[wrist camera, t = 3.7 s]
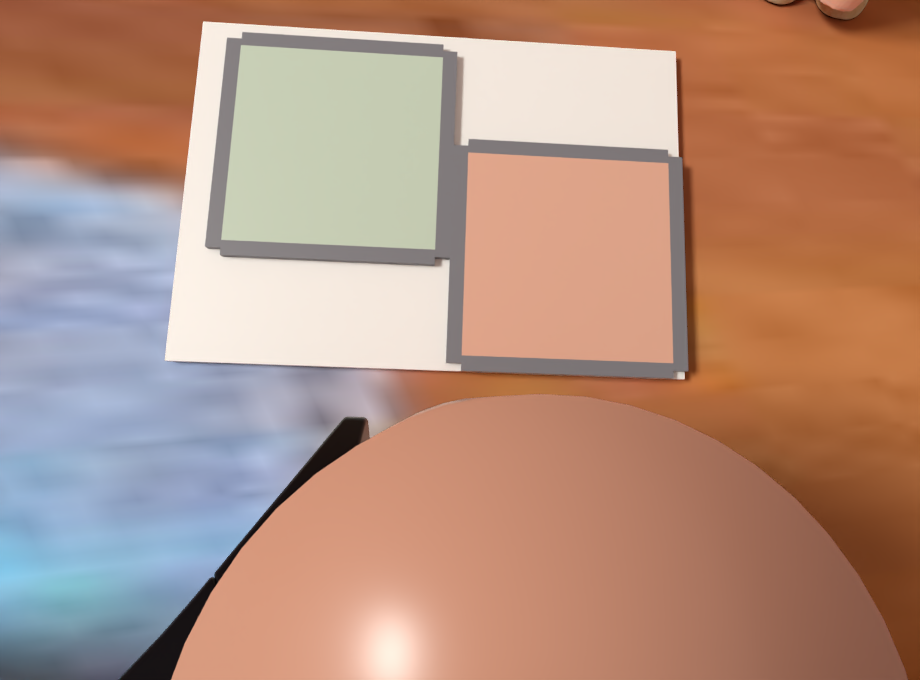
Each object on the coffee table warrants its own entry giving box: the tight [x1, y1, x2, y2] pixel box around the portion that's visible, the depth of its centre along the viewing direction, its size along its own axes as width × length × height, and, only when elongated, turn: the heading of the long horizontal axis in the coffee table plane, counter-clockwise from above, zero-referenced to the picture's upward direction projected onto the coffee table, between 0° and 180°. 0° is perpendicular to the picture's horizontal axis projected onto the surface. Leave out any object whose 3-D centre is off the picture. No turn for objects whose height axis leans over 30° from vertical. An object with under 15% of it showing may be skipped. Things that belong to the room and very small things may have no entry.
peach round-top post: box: [171, 394, 908, 680], centre depth 9 cm, size 4×4×13 cm
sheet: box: [165, 22, 688, 380], centre depth 16 cm, size 12×17×1 cm
